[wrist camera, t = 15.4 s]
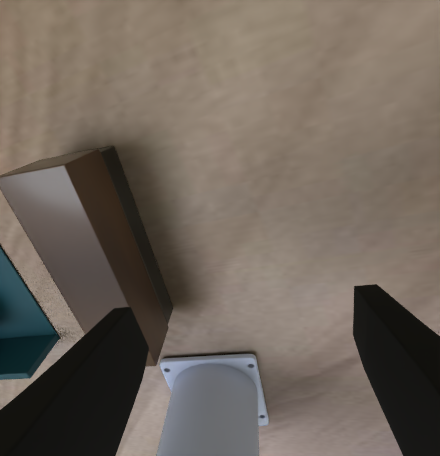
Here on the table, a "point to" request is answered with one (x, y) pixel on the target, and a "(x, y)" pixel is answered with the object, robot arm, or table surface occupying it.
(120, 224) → the brown bar
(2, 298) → the pusher tool
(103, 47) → the table surface
